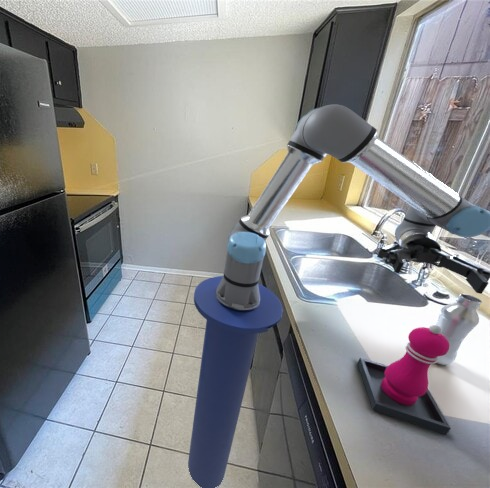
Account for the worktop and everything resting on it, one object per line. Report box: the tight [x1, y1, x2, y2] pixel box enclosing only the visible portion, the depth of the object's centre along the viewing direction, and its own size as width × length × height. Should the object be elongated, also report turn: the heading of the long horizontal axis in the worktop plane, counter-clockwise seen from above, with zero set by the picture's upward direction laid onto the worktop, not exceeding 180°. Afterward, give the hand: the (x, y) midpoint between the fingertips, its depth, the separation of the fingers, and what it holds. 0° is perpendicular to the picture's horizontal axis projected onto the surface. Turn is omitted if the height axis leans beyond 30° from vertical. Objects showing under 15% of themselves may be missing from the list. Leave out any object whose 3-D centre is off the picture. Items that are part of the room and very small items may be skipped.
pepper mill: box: [381, 324, 449, 405], centre depth 56 cm, size 7×7×20 cm
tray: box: [356, 357, 452, 435], centre depth 60 cm, size 14×13×2 cm
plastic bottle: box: [435, 293, 483, 366], centre depth 67 cm, size 6×7×20 cm
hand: (438, 277), depth 57 cm, fingers open, 13 cm apart
